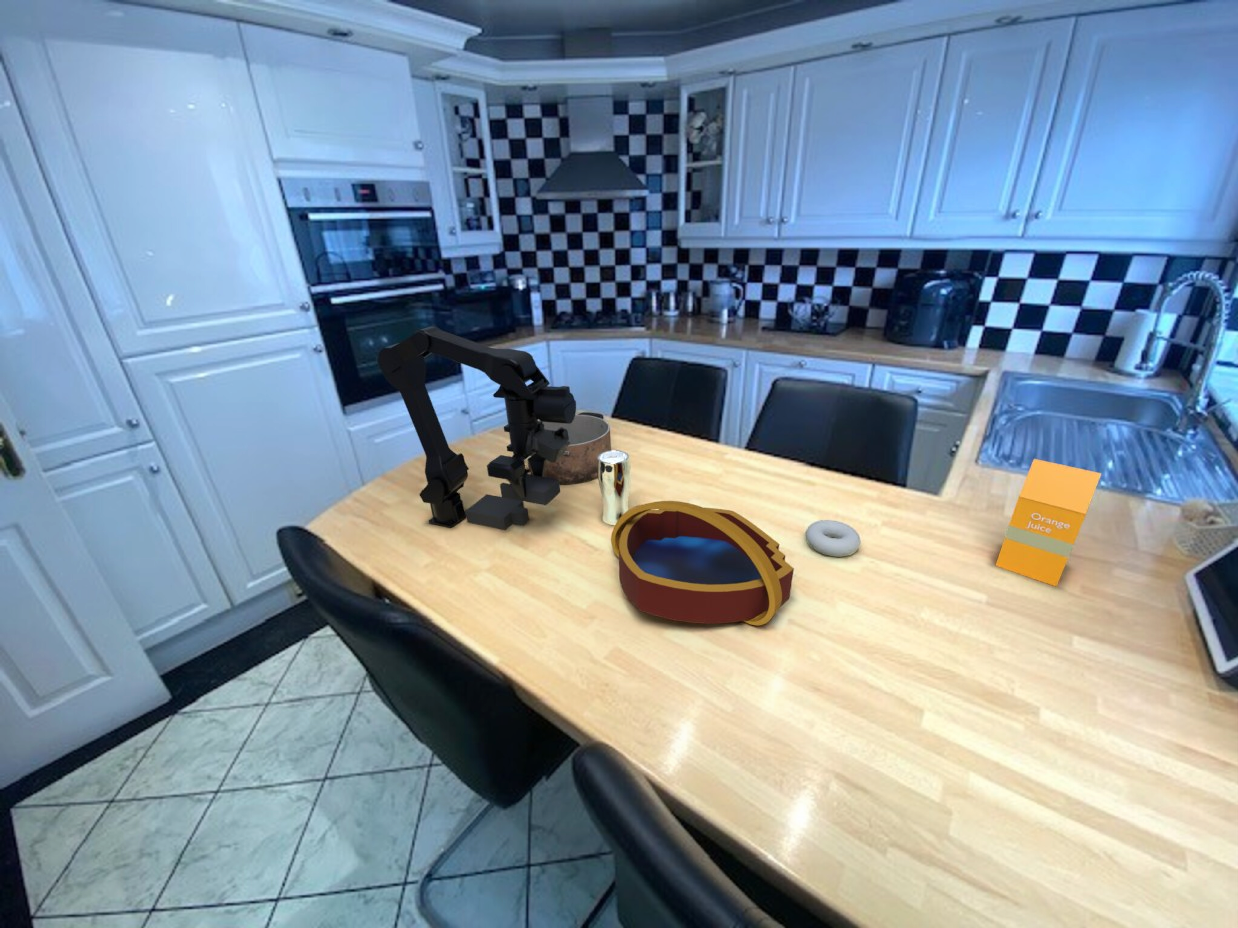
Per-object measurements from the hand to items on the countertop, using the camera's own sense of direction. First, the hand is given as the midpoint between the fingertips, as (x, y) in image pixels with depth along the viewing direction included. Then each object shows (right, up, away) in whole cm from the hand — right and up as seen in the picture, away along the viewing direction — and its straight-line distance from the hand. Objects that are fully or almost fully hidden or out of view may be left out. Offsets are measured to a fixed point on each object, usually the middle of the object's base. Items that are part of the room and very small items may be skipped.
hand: (531, 490), depth 104 cm
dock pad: (-8, -7, +10) cm, 14 cm away
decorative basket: (+31, -16, -13) cm, 37 cm away
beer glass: (+17, -7, +8) cm, 20 cm away
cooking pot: (+5, +5, +33) cm, 34 cm away
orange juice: (+92, -13, -13) cm, 94 cm away
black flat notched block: (0, -1, 0) cm, 1 cm away
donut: (+60, -11, -5) cm, 61 cm away
